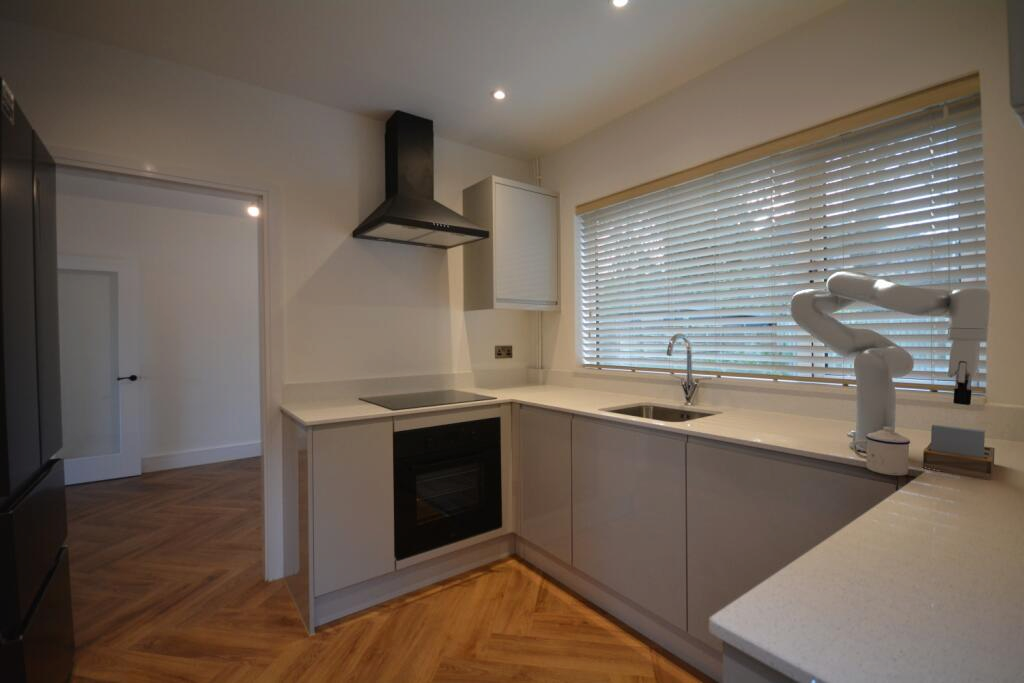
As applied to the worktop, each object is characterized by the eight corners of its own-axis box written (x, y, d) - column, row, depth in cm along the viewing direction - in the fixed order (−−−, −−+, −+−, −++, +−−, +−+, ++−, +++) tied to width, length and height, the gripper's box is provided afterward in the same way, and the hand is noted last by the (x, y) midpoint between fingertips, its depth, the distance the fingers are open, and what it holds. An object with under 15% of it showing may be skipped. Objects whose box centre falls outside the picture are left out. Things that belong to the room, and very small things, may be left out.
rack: (990, 479, 116) (991, 460, 116) (923, 468, 125) (923, 450, 125) (994, 463, 130) (994, 446, 129) (932, 454, 139) (932, 438, 139)
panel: (982, 471, 118) (984, 432, 118) (930, 462, 126) (931, 425, 125) (983, 469, 120) (984, 430, 120) (931, 460, 127) (932, 424, 127)
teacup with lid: (910, 470, 123) (911, 427, 123) (907, 478, 117) (909, 432, 117) (855, 461, 132) (856, 420, 131) (849, 468, 125) (850, 425, 125)
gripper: (951, 334, 130) (946, 398, 132) (943, 335, 121) (938, 405, 122) (989, 335, 125) (984, 402, 126) (984, 336, 115) (978, 409, 116)
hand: (961, 403), depth 124 cm, fingers closed
